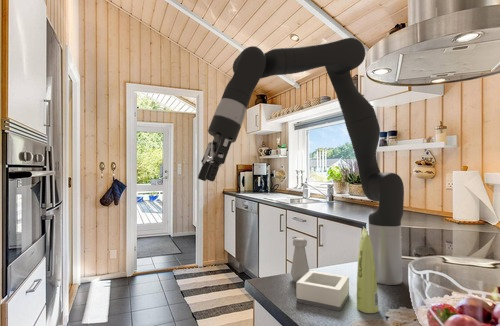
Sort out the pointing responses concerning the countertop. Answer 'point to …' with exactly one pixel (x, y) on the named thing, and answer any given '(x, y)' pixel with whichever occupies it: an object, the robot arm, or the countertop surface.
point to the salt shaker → (299, 259)
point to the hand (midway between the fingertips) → (205, 180)
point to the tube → (366, 277)
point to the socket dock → (323, 290)
